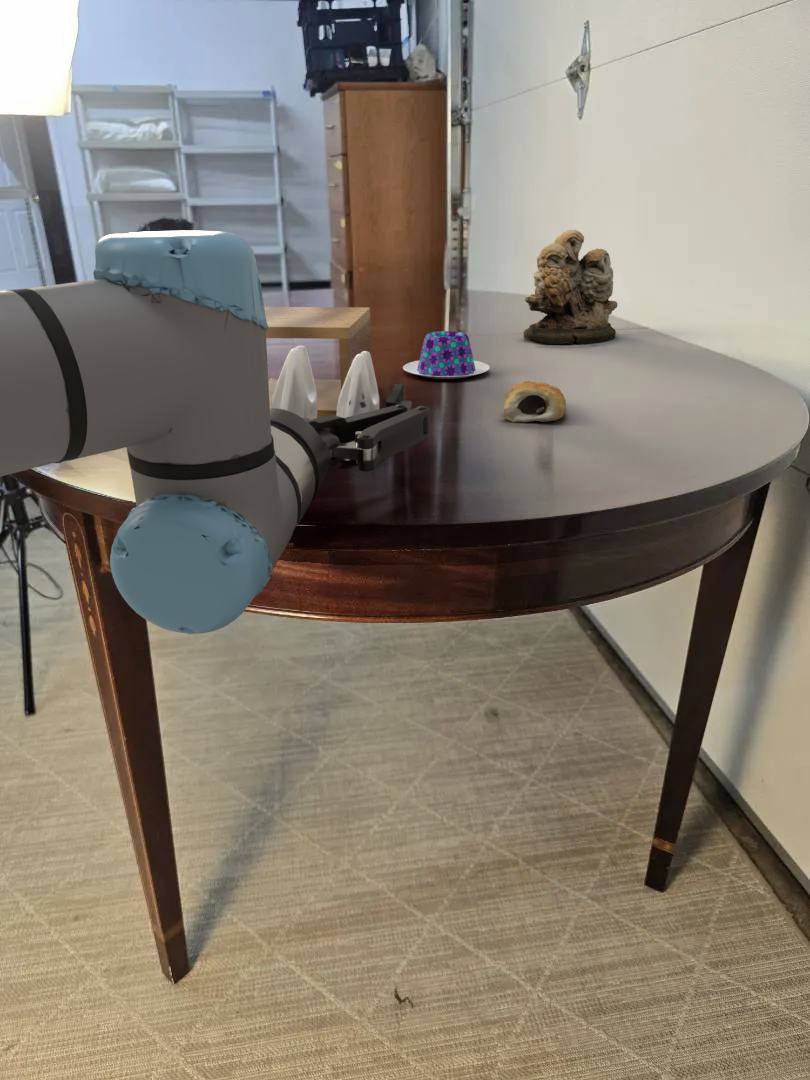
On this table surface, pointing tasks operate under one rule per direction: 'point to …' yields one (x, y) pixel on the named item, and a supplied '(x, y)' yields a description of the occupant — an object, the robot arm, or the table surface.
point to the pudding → (446, 357)
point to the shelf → (323, 324)
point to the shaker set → (300, 388)
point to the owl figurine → (572, 293)
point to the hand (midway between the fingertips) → (326, 397)
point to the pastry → (534, 402)
